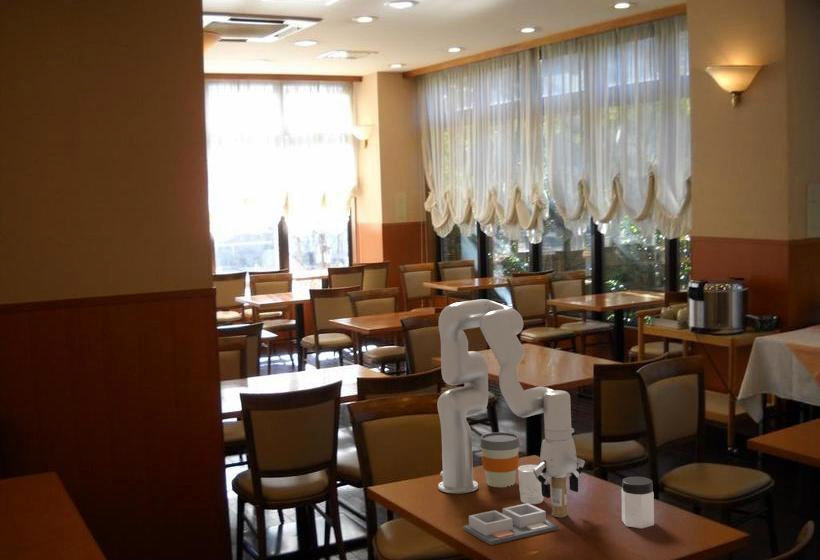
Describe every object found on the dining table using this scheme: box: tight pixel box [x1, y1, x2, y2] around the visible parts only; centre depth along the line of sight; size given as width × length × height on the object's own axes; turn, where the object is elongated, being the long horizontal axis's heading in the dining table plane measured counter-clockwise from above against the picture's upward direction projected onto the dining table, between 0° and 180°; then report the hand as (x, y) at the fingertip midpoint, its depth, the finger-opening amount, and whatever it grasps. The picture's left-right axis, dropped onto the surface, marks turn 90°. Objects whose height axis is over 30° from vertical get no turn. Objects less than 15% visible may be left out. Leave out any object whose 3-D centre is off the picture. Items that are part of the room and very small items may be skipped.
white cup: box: [517, 464, 544, 505], centre depth 281 cm, size 8×8×10 cm
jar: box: [620, 476, 655, 529], centre depth 258 cm, size 9×8×12 cm
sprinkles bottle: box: [550, 474, 568, 518], centre depth 267 cm, size 5×5×13 cm
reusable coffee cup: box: [479, 431, 521, 488], centre depth 299 cm, size 13×13×15 cm
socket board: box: [462, 503, 559, 546], centre depth 257 cm, size 14×22×4 cm, turn 118°
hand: (560, 493), depth 266 cm, fingers open, 9 cm apart
